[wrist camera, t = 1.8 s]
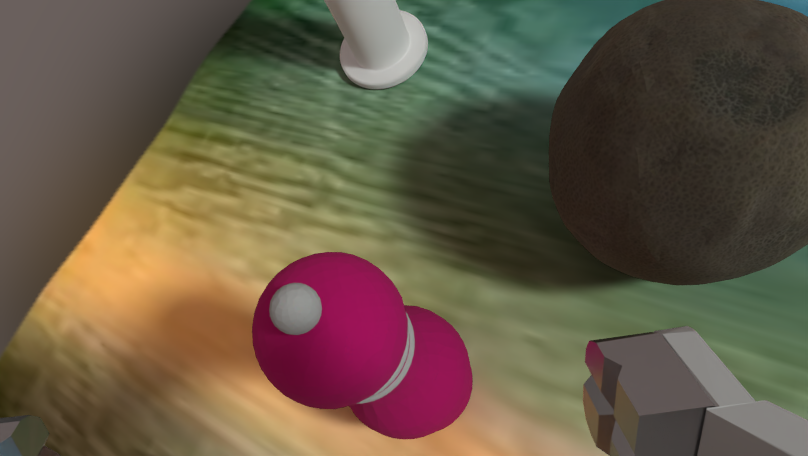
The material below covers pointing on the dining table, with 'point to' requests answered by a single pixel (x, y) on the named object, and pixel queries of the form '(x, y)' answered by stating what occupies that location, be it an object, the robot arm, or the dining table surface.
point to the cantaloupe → (687, 141)
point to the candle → (378, 42)
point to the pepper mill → (360, 347)
